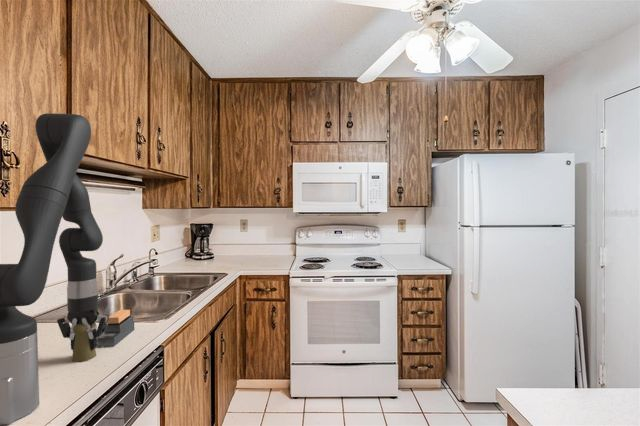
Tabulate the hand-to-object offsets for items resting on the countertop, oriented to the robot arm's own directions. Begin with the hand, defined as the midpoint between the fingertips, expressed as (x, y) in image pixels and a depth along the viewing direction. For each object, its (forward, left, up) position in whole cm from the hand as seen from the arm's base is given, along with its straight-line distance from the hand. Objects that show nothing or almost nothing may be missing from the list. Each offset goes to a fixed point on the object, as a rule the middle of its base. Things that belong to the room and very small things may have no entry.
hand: (84, 349), depth 100 cm
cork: (0, 0, -2) cm, 2 cm away
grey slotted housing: (+14, -2, -2) cm, 14 cm away
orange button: (+16, -2, +4) cm, 16 cm away
